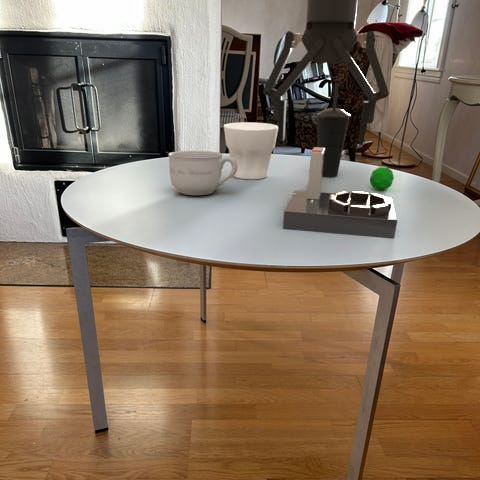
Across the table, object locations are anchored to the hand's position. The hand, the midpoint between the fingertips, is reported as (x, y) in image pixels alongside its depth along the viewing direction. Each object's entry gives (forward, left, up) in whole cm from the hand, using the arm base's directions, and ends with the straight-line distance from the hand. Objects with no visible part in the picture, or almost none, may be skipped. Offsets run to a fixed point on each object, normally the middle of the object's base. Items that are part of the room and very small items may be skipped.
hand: (320, 142), depth 83 cm
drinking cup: (-1, -32, -13) cm, 34 cm away
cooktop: (-5, +4, -12) cm, 14 cm away
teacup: (+23, -7, -13) cm, 27 cm away
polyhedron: (-13, -21, -13) cm, 27 cm away
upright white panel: (0, 0, -9) cm, 9 cm away
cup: (+17, -26, -13) cm, 34 cm away
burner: (-8, +6, -9) cm, 14 cm away
